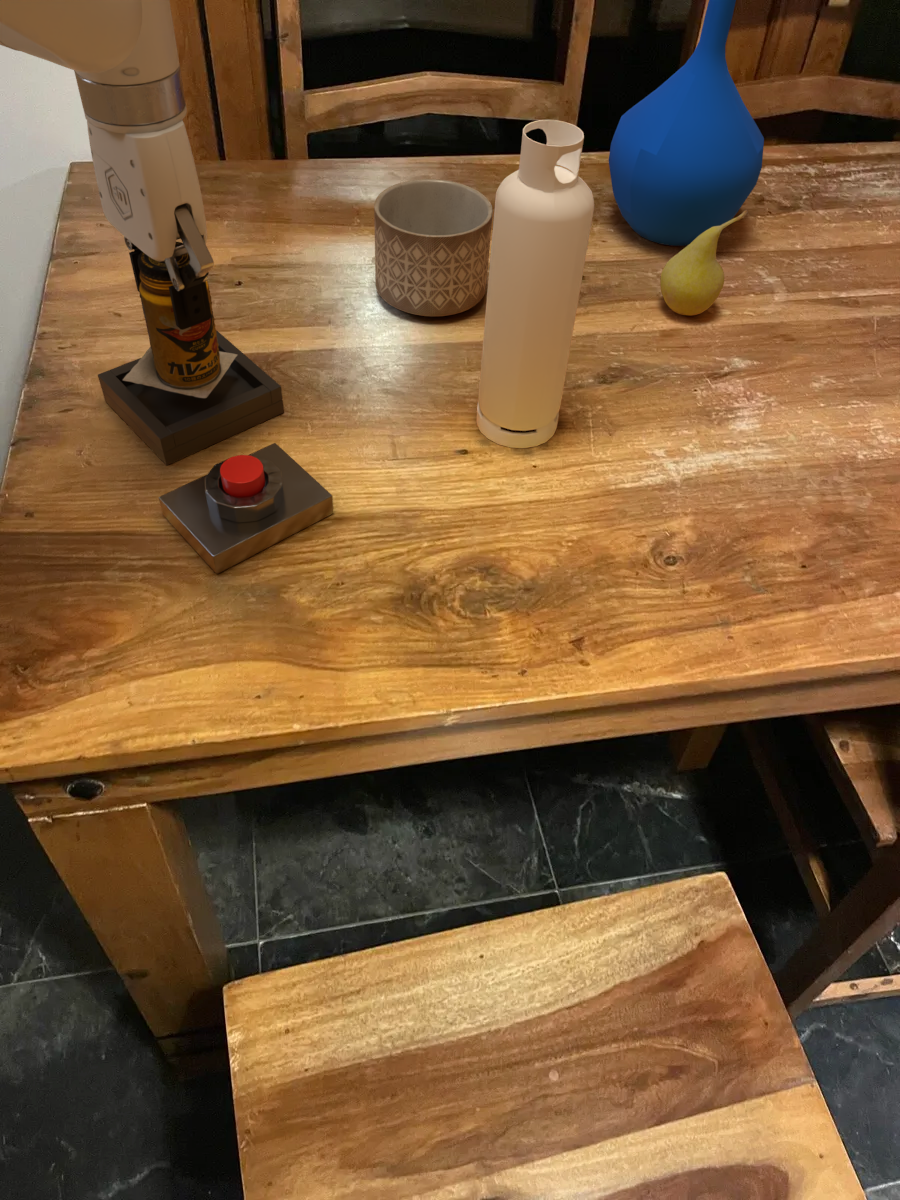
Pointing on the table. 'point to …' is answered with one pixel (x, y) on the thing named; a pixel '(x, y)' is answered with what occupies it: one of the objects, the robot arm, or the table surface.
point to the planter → (432, 246)
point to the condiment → (175, 339)
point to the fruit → (695, 274)
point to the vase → (688, 146)
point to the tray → (194, 407)
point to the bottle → (534, 287)
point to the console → (246, 510)
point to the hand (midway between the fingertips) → (174, 304)
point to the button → (242, 476)
